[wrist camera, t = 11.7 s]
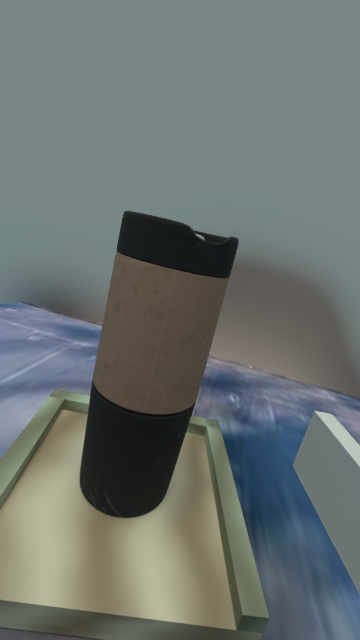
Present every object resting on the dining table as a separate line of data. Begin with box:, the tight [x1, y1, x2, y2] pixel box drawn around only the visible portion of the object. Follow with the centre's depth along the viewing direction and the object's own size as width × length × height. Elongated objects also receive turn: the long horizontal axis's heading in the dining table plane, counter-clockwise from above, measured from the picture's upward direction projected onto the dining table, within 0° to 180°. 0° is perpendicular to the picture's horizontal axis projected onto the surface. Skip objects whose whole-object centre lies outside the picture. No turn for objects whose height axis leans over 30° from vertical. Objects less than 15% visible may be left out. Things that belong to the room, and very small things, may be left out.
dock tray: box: [0, 389, 269, 640], centre depth 24 cm, size 18×18×3 cm
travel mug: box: [80, 211, 238, 518], centre depth 22 cm, size 8×8×20 cm
